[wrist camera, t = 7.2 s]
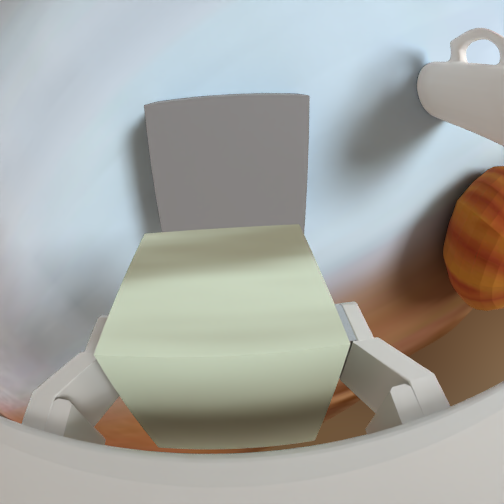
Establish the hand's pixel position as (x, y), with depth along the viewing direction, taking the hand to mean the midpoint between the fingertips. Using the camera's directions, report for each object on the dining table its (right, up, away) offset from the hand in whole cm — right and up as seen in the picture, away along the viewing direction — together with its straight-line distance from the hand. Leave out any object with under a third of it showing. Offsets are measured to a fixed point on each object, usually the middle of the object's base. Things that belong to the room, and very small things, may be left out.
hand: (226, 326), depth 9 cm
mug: (+20, +20, +12) cm, 31 cm away
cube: (0, +1, +2) cm, 2 cm away
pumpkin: (+32, +7, +22) cm, 39 cm away
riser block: (-1, +10, +16) cm, 19 cm away
